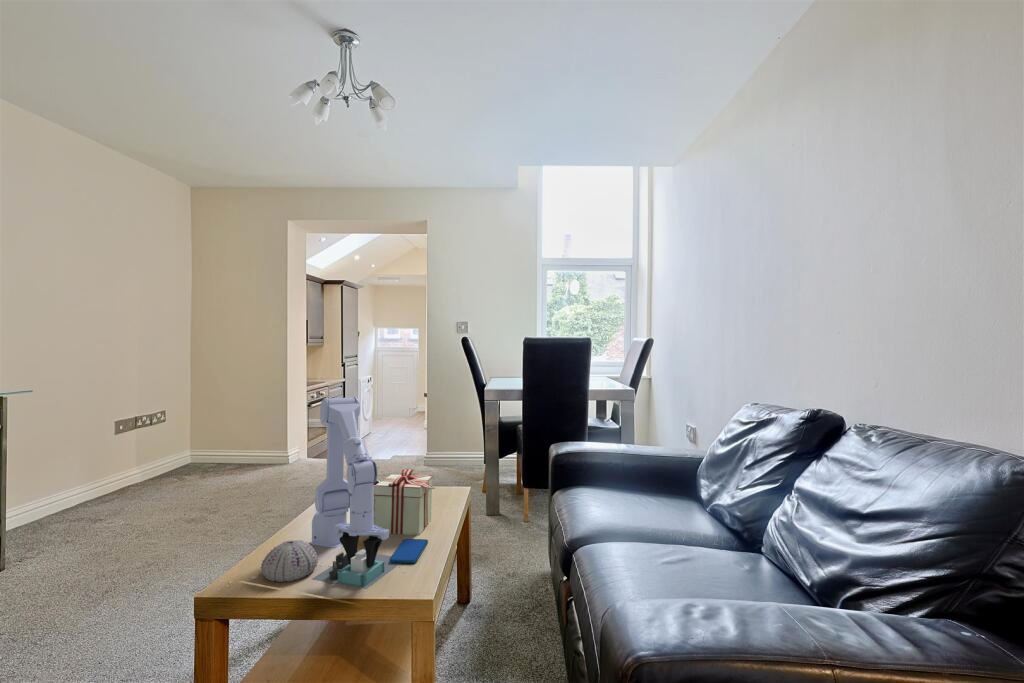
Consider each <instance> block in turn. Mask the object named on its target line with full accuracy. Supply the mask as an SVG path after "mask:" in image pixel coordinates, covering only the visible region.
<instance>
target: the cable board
mask: <svg viewBox="0 0 1024 683" xmlns="http://www.w3.org/2000/svg"><path fill="white" fill-rule="evenodd" d="M359 551H360V550H357V552H359ZM391 556H392V555H386V554H385V555H384V554H381V553H379V554H378V553H377V554H376V558H375V563H374V566H373V567H372V568H370V569H369V570H368V571H366V572H365V573H363V574H362V573H356V572H351V565H349V561H348V558H347V554H346V553H344V552H339V554H337V555H335V560H333V561H332V565H331V566H330V567H329V568H327V569H325V570H324V571H322V572H320V573H318V574H317V575H315V576H314V577H312V578H311V580H314V581H320V582H325V583H330V584H337V585H341V586H347V587H354V588H359V589H363V590H367V589H369V588H370V587H371V586H373V585H374V584H376V583H377V582H378V581H379V580H381V579H382V578H383V577H385V576H386V575H387V574H389V573H390V572H391V571H393V570H394V569H395V568H397V567H398V566H399V565H400V564H401V563H399V562H390V557H391Z"/></svg>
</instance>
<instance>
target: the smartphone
mask: <svg viewBox="0 0 1024 683" xmlns="http://www.w3.org/2000/svg"><path fill="white" fill-rule="evenodd" d="M428 544H429V540H428V539H426V538H425V539H423V538H422V539H421V538H419V539H418V538H405V539H403V540H402V541H401V543H400V544H399V545H398V546H397V548H396V549H395V551H394V552H393V553H392V555H390V556H391V557H390V562H399V563H400V564H402V563H403V564H405V563H406V564H407V563H408V564H414V563H415V564H416V563H417V562H418V560H419V559H420V557H421V555H422V553H423V551H424V550H425V548H426V547H427V545H428Z"/></svg>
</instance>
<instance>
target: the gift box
mask: <svg viewBox="0 0 1024 683" xmlns="http://www.w3.org/2000/svg"><path fill="white" fill-rule="evenodd" d="M414 471H415V469H402V470H401V473H400V474H390V475H388V476H387V477H385V478H384V479H382V480H380V481H379V482H378V483H377V484H374V498H375V500H374V503H375V504H374V505H375V506H374V525H375V526H378V527H381V528H383V529H388V530H389V535H390V534H391V535H410V536H411V535H413V536H420V535H421V534H422V532H423V531H424V530H425V529H426V528H427V526H428V525H429V524H430V523H431V521H432V497H433V496H432V494H433V493H432V492H433V491H432V490H434V489H436V487H433V486H434V475H433V474H420V473H419V474H412V473H413V472H414ZM429 522H430V523H429ZM425 527H426V528H425Z"/></svg>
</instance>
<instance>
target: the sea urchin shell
mask: <svg viewBox="0 0 1024 683" xmlns="http://www.w3.org/2000/svg"><path fill="white" fill-rule="evenodd" d="M317 554H318V552H316V550H315V548H314V547H313V546H312V544H310V543H308V542H307V541H304V540H300V539H299V540H287V541H283V542H281V543H280V544H277V545H276V546H274V547H273V548H272V549H271V550H270V551H269V552H268V553H267V554H266V555H265V557H264V559H263V560H261V561H262V562H261V566H260V570H261V571H260V572H261V573H262V575H263V576H264V577H265V579H267V580H268V581H270V582H278V583H280V582H281V583H283V582H289V583H290V582H294V581H298V580H301V579H302V578H304V577H306V576H310V574H311V573H313V571H314V570H315V569H316V568H317V566H318V563H319V556H318V555H317Z"/></svg>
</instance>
